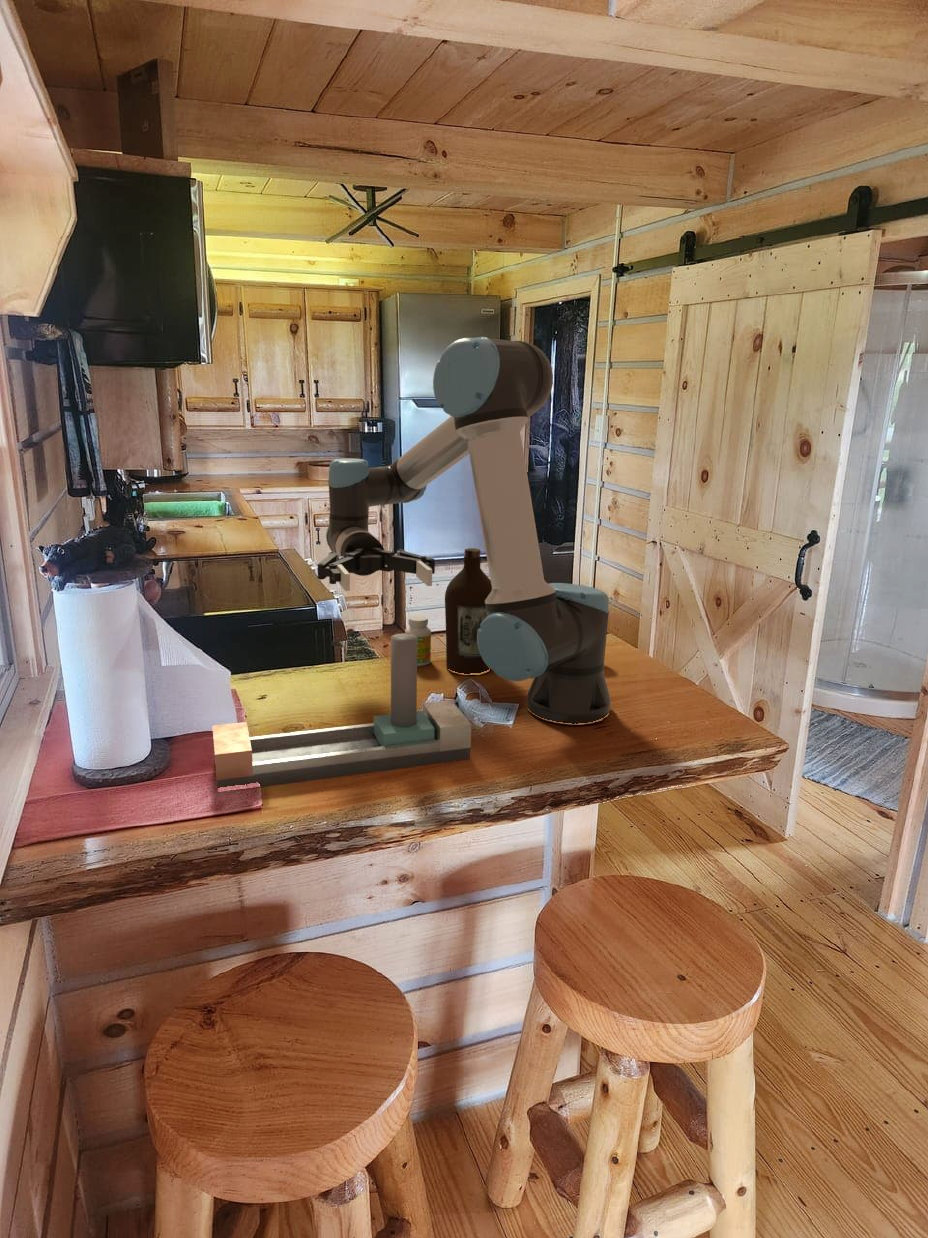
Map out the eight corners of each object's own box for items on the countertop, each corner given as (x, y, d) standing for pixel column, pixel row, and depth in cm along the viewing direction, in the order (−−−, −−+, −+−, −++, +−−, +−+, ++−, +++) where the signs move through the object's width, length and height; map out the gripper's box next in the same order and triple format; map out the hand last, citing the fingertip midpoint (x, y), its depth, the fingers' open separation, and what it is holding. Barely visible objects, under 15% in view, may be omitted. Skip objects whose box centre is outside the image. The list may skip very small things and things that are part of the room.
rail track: (450, 732, 133) (451, 699, 131) (470, 759, 124) (471, 724, 122) (215, 761, 121) (212, 725, 119) (217, 793, 112) (214, 754, 110)
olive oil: (438, 661, 167) (440, 544, 160) (487, 658, 169) (491, 543, 162) (449, 679, 157) (452, 556, 150) (500, 676, 159) (505, 554, 152)
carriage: (421, 727, 129) (423, 628, 124) (434, 746, 123) (435, 642, 118) (373, 733, 127) (373, 632, 122) (384, 752, 120) (383, 646, 115)
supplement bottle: (411, 668, 162) (411, 622, 160) (400, 659, 167) (401, 615, 164) (434, 664, 165) (435, 620, 162) (424, 656, 169) (424, 613, 167)
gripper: (424, 568, 151) (461, 598, 132) (292, 574, 142) (311, 607, 123) (425, 529, 148) (463, 553, 129) (290, 533, 140) (310, 560, 121)
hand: (389, 580), depth 126 cm, fingers open, 13 cm apart
